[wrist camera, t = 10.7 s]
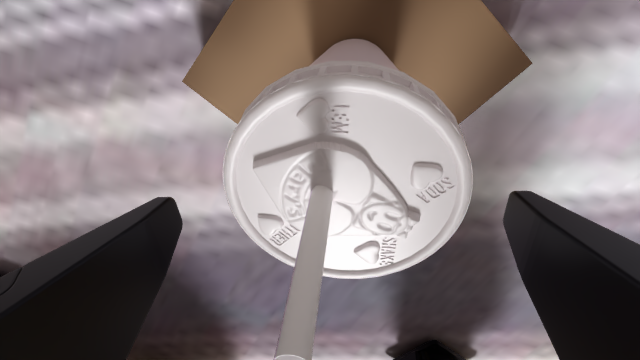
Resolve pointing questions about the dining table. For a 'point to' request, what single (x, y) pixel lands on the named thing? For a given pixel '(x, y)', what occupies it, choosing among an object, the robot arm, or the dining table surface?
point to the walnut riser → (358, 23)
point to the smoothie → (345, 176)
